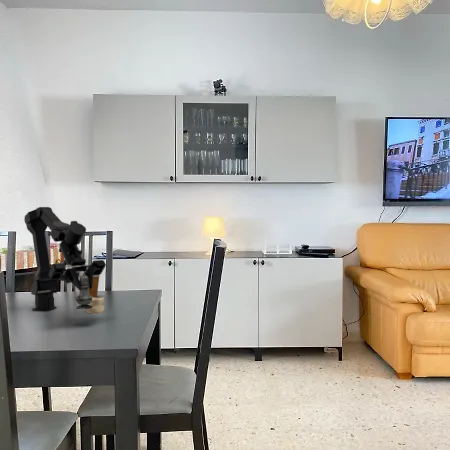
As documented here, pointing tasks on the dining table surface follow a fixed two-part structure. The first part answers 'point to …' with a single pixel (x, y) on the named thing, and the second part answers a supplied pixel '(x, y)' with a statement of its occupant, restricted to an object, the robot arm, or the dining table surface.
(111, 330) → the dining table surface
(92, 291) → the disposable coffee cup
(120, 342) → the dining table surface
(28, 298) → the dining table surface
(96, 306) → the maple block
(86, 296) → the grey tall rounded piece
